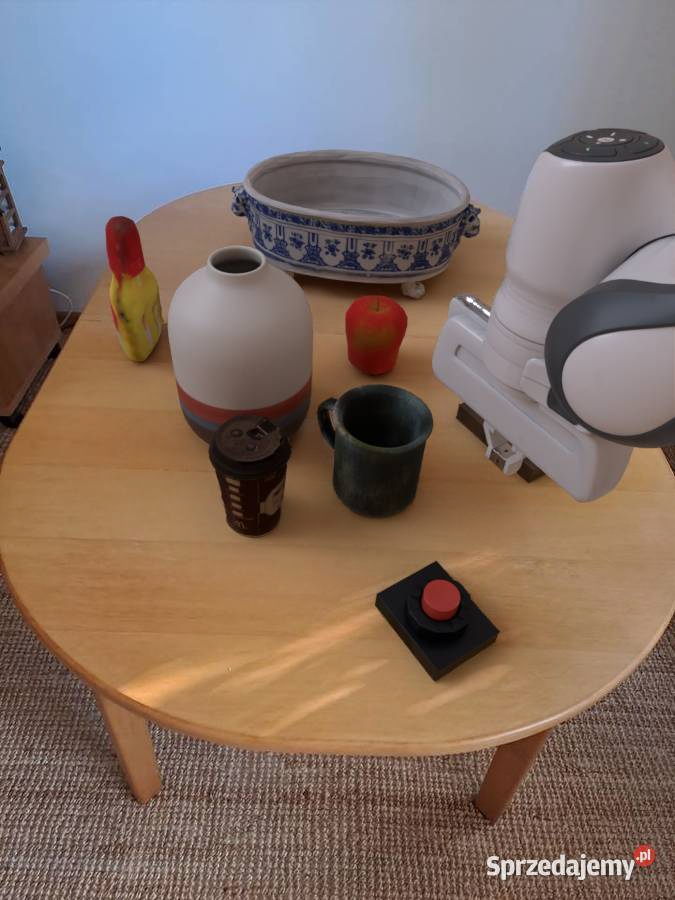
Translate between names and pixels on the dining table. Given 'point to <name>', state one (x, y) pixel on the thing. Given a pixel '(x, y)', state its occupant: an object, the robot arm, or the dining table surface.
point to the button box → (435, 623)
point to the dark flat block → (476, 427)
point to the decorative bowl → (356, 216)
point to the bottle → (132, 290)
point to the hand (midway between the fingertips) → (501, 464)
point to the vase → (241, 343)
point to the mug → (376, 446)
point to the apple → (374, 333)
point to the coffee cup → (251, 472)
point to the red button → (440, 600)
